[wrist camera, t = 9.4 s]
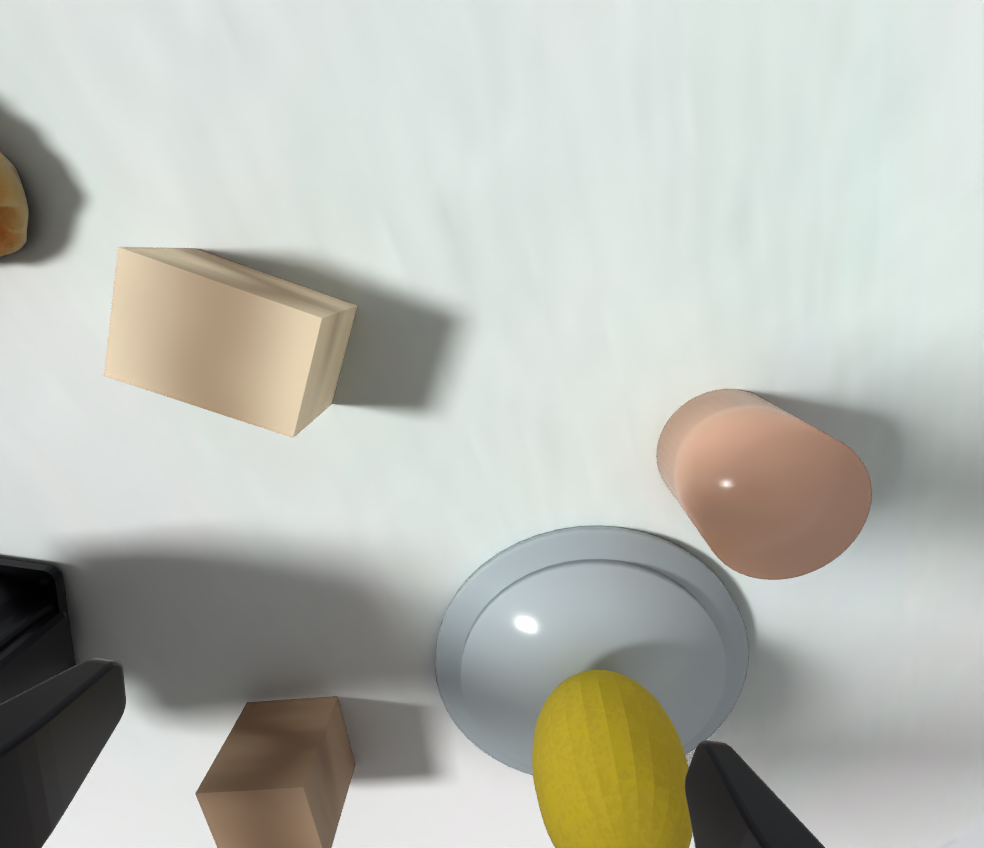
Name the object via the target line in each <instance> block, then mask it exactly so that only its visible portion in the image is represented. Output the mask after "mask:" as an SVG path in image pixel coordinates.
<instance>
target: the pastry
mask: <svg viewBox="0 0 984 848" xmlns="http://www.w3.org/2000/svg"><path fill="white" fill-rule="evenodd" d="M27 226H28V204H27V200H26V196H25V193H24V189H23V186H22V183H21V180H20V178H19V175H18V173H17V170H16V168H15V166H14V165H13V164H12V163H11V162H10V161H9V160H8V159H7V158H6V157H5V156H4V155H3V154H2V153H1V152H0V257H1V256H4V255H7V254H11V253H15V252H17V251H19V250H20V249H21V248H22V247H23V245H24V244H25V243H26V242H27Z"/></svg>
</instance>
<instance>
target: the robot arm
mask: <svg viewBox="0 0 984 848" xmlns="http://www.w3.org/2000/svg"><path fill="white" fill-rule="evenodd" d="M125 705H126V695H125V685H124V675H123V667H122V665H121V663H120V662H119V661H116V660H109V659H102V658H91V659H87V660H85V661H83V662H81V663H79V664H77V665H75V662H74V655H73V648H72V640H71V633H70V626H69V618H68V611H67V604H66V596H65V589H64V582H63V576H62V573H61V572H60V570H59V569H58V568H56V567H54V566H51V565H45V564H38V563H31V562H24V561H17V560H10V559H3V558H0V848H42V846H43V845H44V843H45V842H46V840H47V839H48V837H49V836H50V835H51V833H52V832H53V830H54V828H55V827H56V825H57V824H58V822H59V821H60V819H61V817H62V816H63V814H64V813H65V811H66V809H67V808H68V806H69V804H70V803H71V801H72V799H73V798H74V796H75V794H76V793H77V791H78V789H79V788H80V786H81V784H82V783H83V781H84V779H85V778H86V776H87V774H88V773H89V771H90V769H91V768H92V766H93V764H94V763H95V761H96V759H97V758H98V756H99V754H100V753H101V751H102V749H103V748H104V746H105V744H106V743H107V741H108V739H109V738H110V736H111V734H112V733H113V731H114V729H115V728H116V726H117V724H118V723H119V721H120V719H121V717H122V715H123V713H124V709H125ZM685 794H686V800H687V805H688V811H689V816H690V821H691V826H692V832H693V837H694V842H695V847H696V848H825V847H824V846H823V845H822V844H821V843H820V842H819V840H818V839H817V838H816V837H815V836H814V835H813V834H812V833H811V832H810V831H809V830H808V829H807V828H806V827H805V826H804V824H803V823H802V822H801V821H800V820H799V819H798V818H797V817H796V816H795V815H794V814H793V813H792V812H791V811H790V809H789V808H788V807H787V806H786V805H785V804H784V803H783V802H782V801H781V800H780V799H779V798H778V797H777V796H776V794H775V793H774V792H773V791H772V790H771V789H770V788H769V787H768V786H767V785H766V784H765V783H764V782H763V781H762V780H761V778H760V777H759V776H758V775H757V774H756V773H755V772H754V771H753V770H752V769H751V768H750V767H749V766H748V765H747V763H746V762H745V761H744V760H743V759H742V758H741V757H740V756H739V755H738V754H737V753H736V752H735V751H734V750H733V749H732V748H731V747H730V746H729V745H727V744H725V743H722V742H714V741H707V740H703V741H701V742H700V743H698V745H697V747H696V750H695V753H694V755H693V758H692V761H691V763H690V766H689V769H688V771H687V774H686V778H685Z"/></svg>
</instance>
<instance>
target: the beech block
mask: <svg viewBox="0 0 984 848" xmlns="http://www.w3.org/2000/svg"><path fill="white" fill-rule="evenodd" d="M356 310H357V305H354V304H351V303H348V302H346V301H343V300H340V299H337V298H334V297H331V296H329V295H326V294H323V293H320V292H317V291H315V290H312V289H309V288H306V287H303V286H300V285H298V284H295V283H292V282H289V281H286V280H283V279H281V278H278V277H275V276H272V275H269V274H266V273H264V272H261V271H258V270H255V269H252V268H249V267H247V266H244V265H241V264H238V263H235V262H232V261H230V260H227V259H224V258H221V257H218V256H215V255H213V254H210V253H207V252H204V251H201V250H198V249H196V248H146V247H118V253H117V262H116V271H115V280H114V289H113V298H112V308H111V317H110V326H109V335H108V344H107V353H106V362H105V372H104V376H106V377H109V378H112V379H115V380H118V381H121V382H124V383H127V384H130V385H133V386H136V387H139V388H143V389H146V390H149V391H152V392H155V393H158V394H161V395H164V396H167V397H170V398H173V399H176V400H179V401H182V402H185V403H188V404H191V405H195V406H198V407H201V408H204V409H207V410H210V411H213V412H216V413H219V414H222V415H225V416H228V417H231V418H234V419H237V420H240V421H243V422H246V423H250V424H253V425H256V426H259V427H262V428H265V429H268V430H271V431H274V432H277V433H280V434H283V435H286V436H289V437H292V438H293V437H295V436H296V435H297V434H298V433H299V432H300V431H301V430H303V429H304V428H305V427H306V426H307V425H308V424H310V423H311V422H312V421H313V420H314V419H315V418H316V417H318V416H319V415H320V414H321V413H322V412H323V411H324V410H326V409H327V408H328V407H329V406H330V405H331V404H332V402H333V398H334V394H335V390H336V386H337V382H338V379H339V375H340V371H341V367H342V363H343V359H344V356H345V352H346V348H347V344H348V340H349V336H350V333H351V329H352V325H353V321H354V317H355V313H356Z"/></svg>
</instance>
